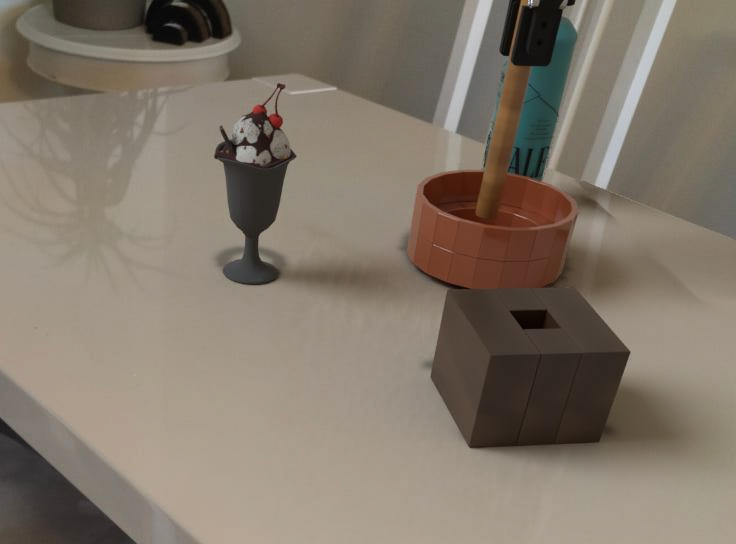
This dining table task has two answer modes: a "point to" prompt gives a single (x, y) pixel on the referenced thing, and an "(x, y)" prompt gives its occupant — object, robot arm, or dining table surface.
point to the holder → (526, 366)
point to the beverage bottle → (540, 106)
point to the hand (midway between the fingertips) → (524, 58)
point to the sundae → (254, 185)
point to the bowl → (491, 232)
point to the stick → (503, 134)
